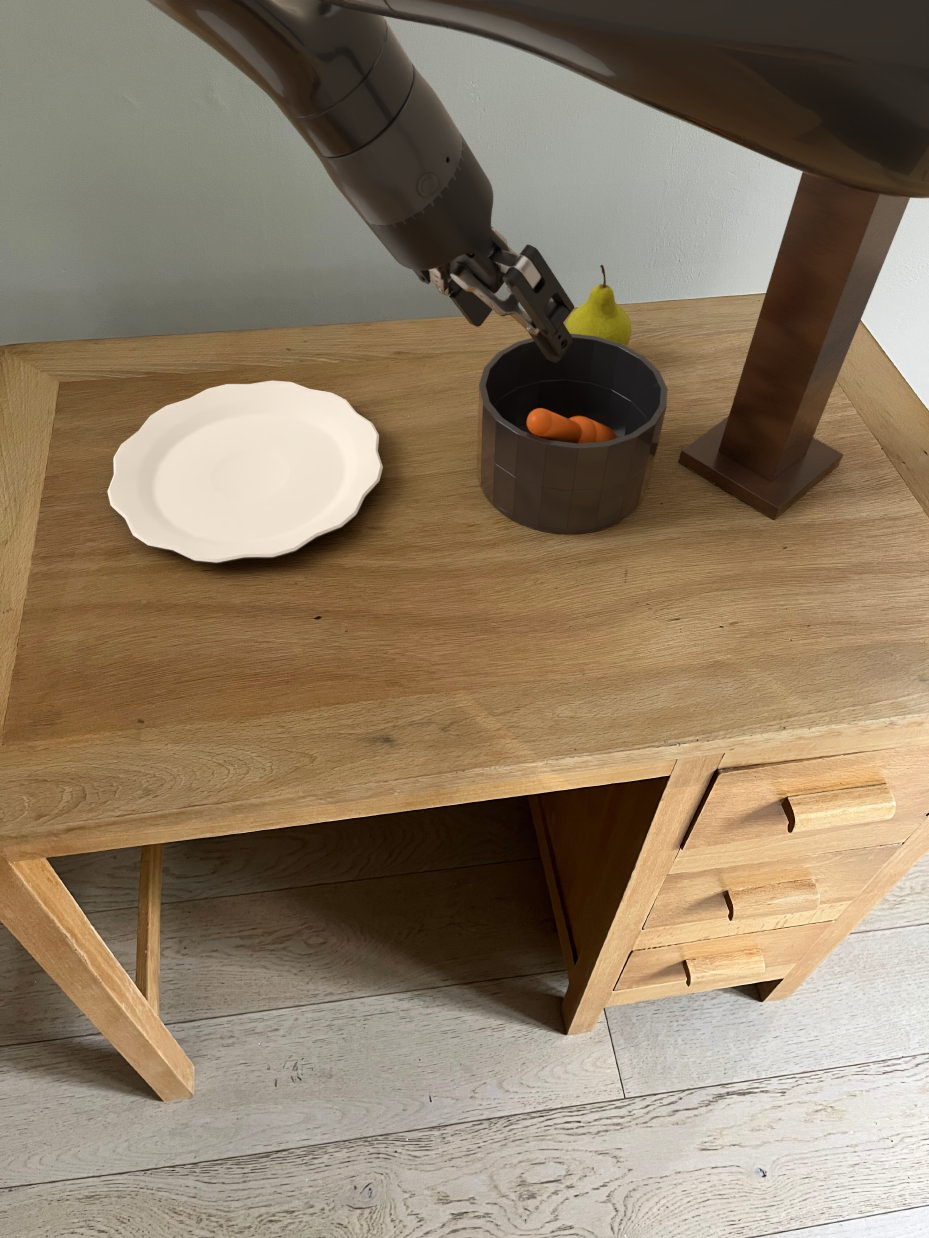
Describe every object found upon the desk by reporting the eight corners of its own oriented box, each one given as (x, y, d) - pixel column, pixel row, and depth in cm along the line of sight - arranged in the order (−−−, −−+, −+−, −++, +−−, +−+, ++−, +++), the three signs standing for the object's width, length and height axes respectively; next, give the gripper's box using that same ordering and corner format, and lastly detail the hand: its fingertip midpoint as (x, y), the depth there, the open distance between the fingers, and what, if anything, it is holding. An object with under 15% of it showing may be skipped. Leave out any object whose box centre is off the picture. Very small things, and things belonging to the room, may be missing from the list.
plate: (424, 430, 86) (423, 415, 85) (303, 608, 71) (300, 593, 70) (210, 373, 92) (206, 358, 90) (58, 527, 77) (50, 512, 76)
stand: (838, 465, 83) (1008, 88, 57) (774, 520, 78) (927, 135, 53) (744, 413, 88) (861, 45, 62) (677, 462, 83) (775, 84, 58)
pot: (682, 476, 82) (705, 389, 74) (568, 562, 75) (580, 475, 67) (557, 400, 89) (567, 313, 82) (443, 471, 82) (441, 383, 75)
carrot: (639, 472, 81) (640, 434, 81) (551, 439, 68) (553, 394, 68) (604, 474, 83) (606, 437, 83) (513, 443, 70) (515, 399, 70)
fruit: (584, 337, 97) (597, 232, 87) (637, 358, 94) (656, 253, 85) (550, 365, 93) (560, 260, 84) (604, 389, 91) (621, 283, 81)
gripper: (525, 137, 46) (623, 321, 60) (372, 98, 55) (488, 267, 68) (441, 249, 47) (558, 408, 60) (302, 194, 55) (431, 344, 68)
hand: (520, 333), depth 64 cm, fingers open, 8 cm apart
